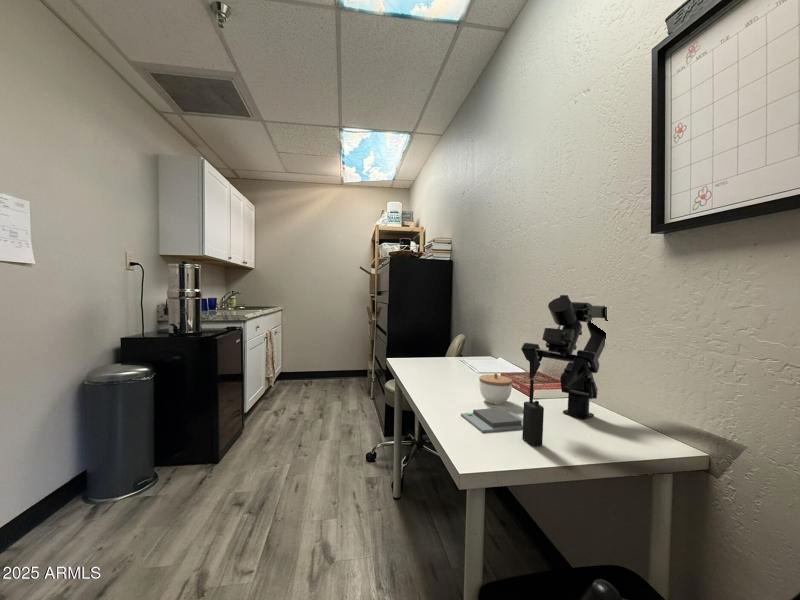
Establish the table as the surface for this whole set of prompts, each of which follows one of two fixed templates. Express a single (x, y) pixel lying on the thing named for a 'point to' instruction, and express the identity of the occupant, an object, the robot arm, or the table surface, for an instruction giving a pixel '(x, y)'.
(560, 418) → the table surface
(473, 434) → the table surface
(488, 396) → the lidded jar
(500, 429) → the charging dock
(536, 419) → the walkie-talkie
